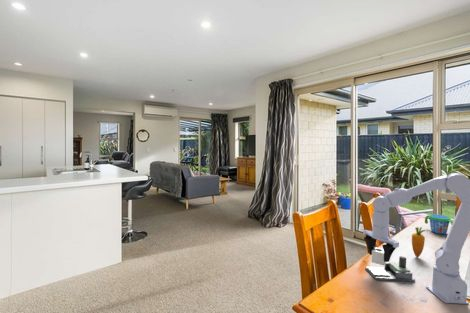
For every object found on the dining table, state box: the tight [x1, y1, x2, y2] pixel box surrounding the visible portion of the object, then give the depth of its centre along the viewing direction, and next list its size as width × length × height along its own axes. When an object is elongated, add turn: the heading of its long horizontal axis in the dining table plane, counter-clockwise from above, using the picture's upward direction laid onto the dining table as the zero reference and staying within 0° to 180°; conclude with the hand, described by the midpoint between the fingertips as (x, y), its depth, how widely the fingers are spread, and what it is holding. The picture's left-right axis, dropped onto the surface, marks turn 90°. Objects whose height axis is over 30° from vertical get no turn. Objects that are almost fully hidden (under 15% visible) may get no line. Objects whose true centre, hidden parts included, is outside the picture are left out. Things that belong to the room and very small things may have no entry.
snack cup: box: [424, 213, 454, 235], centre depth 154 cm, size 16×10×10 cm
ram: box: [389, 255, 411, 272], centre depth 102 cm, size 6×5×6 cm
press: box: [364, 262, 416, 283], centre depth 103 cm, size 9×15×3 cm, turn 87°
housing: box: [371, 246, 385, 266], centre depth 102 cm, size 4×4×5 cm
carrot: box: [411, 226, 426, 258], centre depth 119 cm, size 5×5×15 cm
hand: (378, 257), depth 102 cm, fingers closed on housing, 6 cm apart
